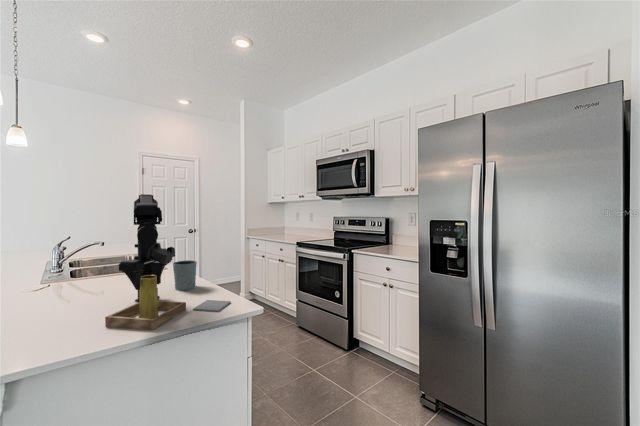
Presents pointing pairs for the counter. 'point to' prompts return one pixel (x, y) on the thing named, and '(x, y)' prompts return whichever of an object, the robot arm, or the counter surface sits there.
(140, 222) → the robot arm
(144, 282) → the vase
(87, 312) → the counter surface
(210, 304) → the slate mat
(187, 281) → the grey-blue cup
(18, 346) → the counter surface
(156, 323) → the wooden frame
